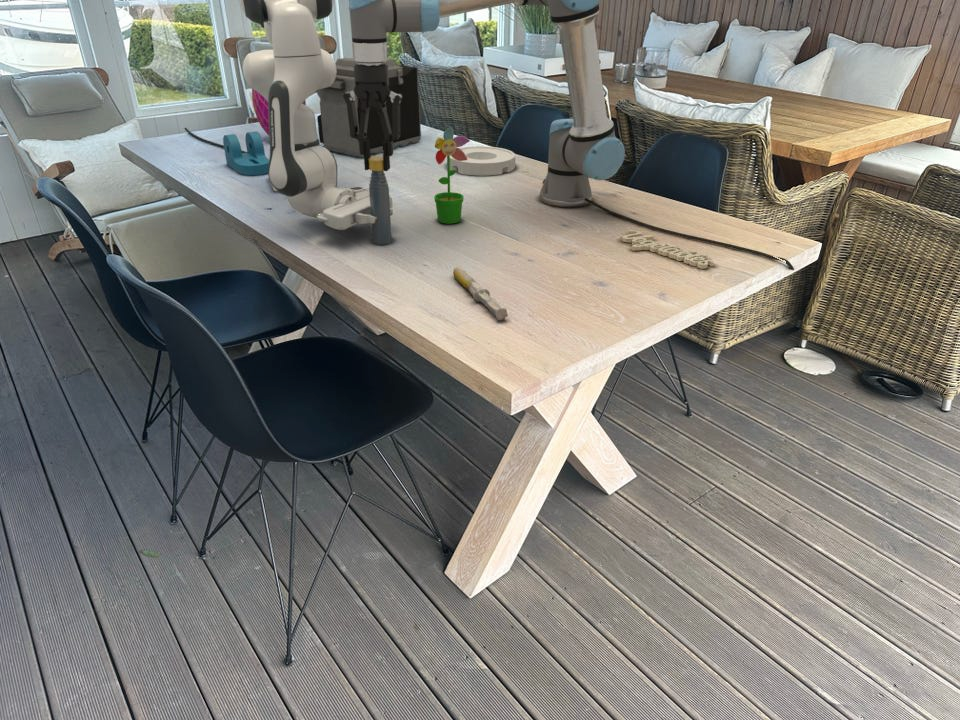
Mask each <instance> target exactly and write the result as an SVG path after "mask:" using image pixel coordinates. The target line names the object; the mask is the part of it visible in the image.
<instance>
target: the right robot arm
mask: <svg viewBox="0 0 960 720" xmlns="http://www.w3.org/2000/svg"><path fill="white" fill-rule="evenodd" d="M600 1H601V0H348V10H349V19H350V32H351V47H352V58H353V61H355V62H356V64H355V65H354V76H355V87H354V90H353V91H351V92H346V93H345V94H343V97H344V100H345V102H346V104H347V112H348V120H349V128H350V136H351V138H355V139H357V140H358V141H359V150H360V154H361V155H364V157H363V164H364V171H370V170H369V163H368V158H370V157H372V156H371V153H370V141H369V139H366V138H367V136H366V134H367V126H368V118H369V110H370V107H374V108H377V112H378V113H379V117H380V121H381V125H382V129H383V133H384V137H385V141H384V142H383V143H382V147H383V150H382V157H383V163H384V172H388V171H389V170H390V169H391V157H392V156H393V155H394V149H393V141H394V140H397V139H398V138H399V137H400V104H401V101H402V98H403V96H402V94H396V93H394V92H392V91H391V88H390V86H389V76H388V65H387V64H386V63H385V62H386V61H387V60H388V59H389V58H388V41H387V34H388V33H389V34H393V33H422V34H424V33H426V32H427V33H428V32H435V31H436V30H437V29H438V28H439V25H440V20H441V19H443V18H447V17H452V16H456V15H461V14H466V13H472V12H476V11H481V10H485V9H491V8H496V7H500V6H505V5H509V4H510V5H511V4H513V5H514V6H515V7H523V6H530V5H531V6H532V5H534V6H544V7H548V11H549V17H550V21H551V24H553V25H554V26H555V27H557V28H558V31H559V38H560V45H561V50H562V57H563V58H562V59H563V63H564V64H563V65H564V69H565V70H564V71H565V75H566V82H567V89H568V97H569V101H570V108H571V115H572V118H562V119H554V120H553V121H552V122H551V124H550V127H549V128H550V129H549V134H548V136H549V141H548V142H549V143H548V156H547V158H548V159H547V173H546V176H545V178H544V179H543V181H542V183H541V184H542V187H541V189H540V192H539V200H540V202H542V203H543V204H546V205H549V206H553V207H558V208H559V207H560V208H580V207H584V206H588V205H589V204H591V205H593V206H595V207H597V208H599V209H600V210H602V211H604V212H606V213H607V214H610V215H613V216H615V217H619V218H620V219H623V220H626V221H628V222H631V223H634V224H636V225H640V226H643V227H645V228H648V229H652V230H654V231H655V230H656V231H659V232H662V233H665V234H670V235H674V236H679V237H681V238H682V237H683V238H687V239H692V240H696V241H700V242H704V243H708V244H712V245H713V244H714V245H717V246H721V247H726V248H731V249H735V250H738V251H743V252H747V253H751V254H753V255H754V254H755V255H758V256H761V257H765V258H768V259H770V260H774V261H779V262H782V261H781V260H779V259H777V258H775V257H773V256H774V255H772V254H769V253H766V252H763V251H758V250H754V249H752V248H747V247H743V246H739V245H735V244H731V243H728V242H727V243H726V242H722V241H718V240H713V239H708V238H704V237H700V236H695V235H691V234H686V233H683V232H677V231H674V230H669V229H665V228H662V227H659V226H655V225H652V224H648V223H645V222H642V221H639V220H636V219H634V218H631V217H630V216H629V217H628V216H626V215H622V214H621V213H617V212H615V211H613V210H611V209H608V208H605V207H604V206H602V205H600V204H598V203H597V202H595V201H593V200H592V199H593V193H592V188H591V184H590V179H592V180H595V181H605V180H608V179H611V177H613V176H615V175H616V174H617V172H618V171H619V169H620V168H621V167H622V166H623V164H624V161H625V156H626V148H625V145H624V144H623V142H622V141H621V140H620V139H619V138H617V137H616V132H615V131H616V130H615V124H614V120H612V119H610V118H609V117H608V116H607V109H606V108H607V107H606V101H605V94H604V93H605V92H604V86H603V78H602V77H603V76H602V70H601V62H600V55H599V46H598V39H597V32H596V31H597V30H596V24H595V19H596V18H597V16H598V14H599V13H600V10H601V9H600ZM355 95H356V96H357V98H358V99H359V100H360V102H361V117H360V125H359V132H358V124H357V115H356V106H355V101H354V100H355V99H356V98H355ZM389 96H390V97H391V102H392V103H393V105H392V131H393V135H392V131H391V127H390V123H389V119H388V115H387V108H386V101H387V99H388V98H389ZM777 257H778V258H780V259H782V260H785V261H786V263H785V265H787V267H788V268H789V270H790V271H795V268H794V266H793V264H792V263H791V262H790V261H789V260H788V259H787V258H784V257H780V256H777Z"/></svg>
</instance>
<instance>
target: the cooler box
mask: <svg viewBox="0 0 960 720" xmlns="http://www.w3.org/2000/svg"><path fill="white" fill-rule="evenodd" d="M387 59H388V60H387V61H386V62H385V63H386V64H387V65H388V76H389V86H390V88H391V91H392V92H394V93H396V94H402V96H403V98H402V101H401V104H400V137H399V138H398V139H397V140H394V141H393V150H395V149H396V148H397V147H405V146H407V145H408V144H416V143H418V142H419V141H421V137H422V128H421V97H420V92H419V91H420V89H419V68H418V67H417V66H408V65H400V64H396V62H395V60H394V59H393V58H387ZM335 64H336V69H337V73H336V78H335V81H334V83H333V84H332V85H331V86H330V87H327V88H323V89H319V90H316V91H315V93H316V94H317V96H318V98H319V110H320V111H319V112H320V114H319V115H317V116H316V119H317V128H318V130H317V131H318V139H319V143H320V144H323V147H325V148H327V149H328V150H329V151H330V152H335V153H340V154H344V155H348V156H353V157H357V158H362V159H364V155H361V154H360V150H359V141H358V140H357V139H355V138H351V136H350V128H349V120H348V112H347V104H346V102H345V100H344V97H343V94H345V93H346V92H351V91H353V90H354V87H355V76H354V65H355V64H356V62H355V61H353V57H350V58H349V57H343V58H342V57H341V58H337V59H336V60H335ZM355 98H356V99H355V100H354V101H355V106H356V115H357V124H358V132H359V125H360V117H361V102H360V100H359V99H358V98H357V96H356V95H355ZM392 105H393V103H392V102H391V97H390V96H389V98H388V99H387V101H386V108H387V115H388V119H389V123H390V127H391V131H392ZM392 135H393V131H392ZM366 136H367V138H366V139H369V141H370V154H375V155H377V154H381V153H383V147H382V143H383V142H384V141H385V137H384V133H383V129H382V125H381V121H380V117H379V113H378V112H377V108H374V107H370V110H369V118H368V126H367V134H366Z"/></svg>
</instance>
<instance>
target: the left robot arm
mask: <svg viewBox="0 0 960 720" xmlns="http://www.w3.org/2000/svg"><path fill="white" fill-rule="evenodd" d="M238 4H239V6H240V8H241V10H242V12H243V13H244V15H245V18H247V19H249V20H250V21H251V22H252V23H255V24H257V25H260V27H261V28H262V29H264V34H265V38H266V40H267V42H268V43H269V45H270V46H271V47H272V49H262V50H256V51H253V52H249V53H247V55H246V56H245V58H244V59H243V61H242V74H243V75H242V76H243V78H244V80H245V82H246V83H247V85H248V86H249V87H250V88H251V89H252V88H253V89H254V90H255V91H257V92H258V93H260V94H261V95H262V96H263V97H264V98H265V99H266V100H267V101H268V114H269V135H268V137H269V138H268V139H269V158H268V159H269V166H268V173H267V174H268V181H269V183H270V185H271V187H272V189H273V191H274V192H275V193H276V192H279V193H280V194H281V195H284V196H286V199H287V202H288V204H289V205H290V207H291V208H292V209H293V210H294V211H296V212H297V213H299V214H302V215H304V216H307V217H311V218H314V219H316V220H317V221H319V222H323V224H324V225H325V226H327V227H330V228H332V229H335V230H339V231H343V230H347V229H349V228H352V227H353V226H356V225H359V224H371V223H372V224H373V223H375V222H377V216H376V215H373V214H371V212H370V198H369V189H367V187H365V186H354V187H337V185H338V163H337V159H336V157H335V155H334V154H333V153H332V151H330V150H328V149H327V148H325V147H324V145H321V143H320V139H319V137H318V130H317V122H316V115H315V112H314V110H312V109H311V108H310V107H309V106H308V105H304V104H302V102H303V101H305V100H307V99H308V98H310V97H311V96H312V95H314V94H315V93H316V90H319V89H323V88H327V87H330V86H331V85H332V84H333V83H334V81H335V78H336V73H337V69H336V64H335V63H336V61H335V60H334V58H333V56H332V55H331V53H329V52H328V51H326V50H324V49H323V48H321V43H320V37H319V34H318V29H317V25H316V23H315V19H316V20H317V21H318V20H322V19H326V18H328V17H329V16H330V15H331V13H332V12H333V6H334V0H238ZM184 130H185V132H186V133H188V134H189V135H190V136H192V137H193V138H195V139H198V140H199V141H202V142H203V143H208V144H210V145H214V146H217V147H220V148H223V149H224V144H220V143H218V142H217V143H216V142H214V141H211V140H207V139H205V138H202V137H201V136H198V135H196V134H194V133H192V132H191V131H190V130H189V129H188V127H184ZM242 153H247V151H245V150H242ZM389 199H390V217H391V216H393V215H394V209H393V197H392V195H390V194H389Z"/></svg>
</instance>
